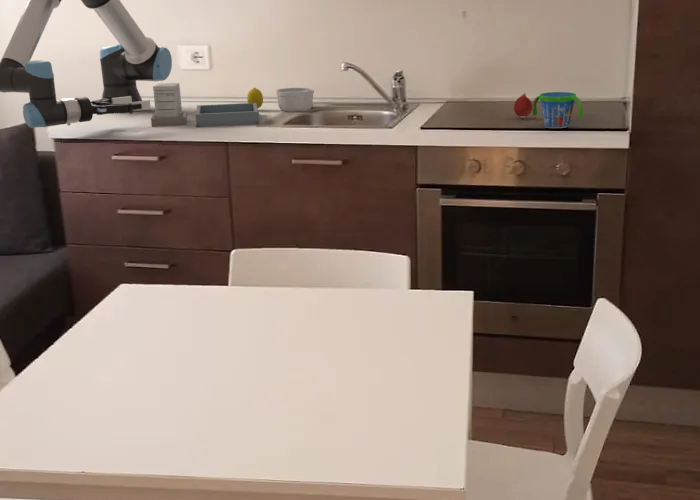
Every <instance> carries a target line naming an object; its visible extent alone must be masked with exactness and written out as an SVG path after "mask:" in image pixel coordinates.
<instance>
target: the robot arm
mask: <svg viewBox="0 0 700 500" xmlns="http://www.w3.org/2000/svg"><path fill="white" fill-rule="evenodd" d="M80 1H81V2H82V4H83V5H84V6H85V7H86V8H87V9H90V10H94V12H95V13H96V14H97V16H98V17H99V19H101V21H102V22H103V23H104V25H105V26H106V28H107V30H109V32H110V33H111V35H113V37H114V38H115V40H116V41H117V42H118V43H119V44H116V45H115V44H114V45H109V46H104V47H103V46H102V47H100V51H99V61H100V69H101V70H100V71H101V76H102V84H103V90H102V96H101V98H99V99H94V100H91V99H89V97H87V96H80V97H75V98H74V97H68V98H60V99H57V95H56V86H55V85H56V84H55V74H54V72H53V67H52V63H51V61H49V60H45V59H44V60H43V59H42V60H41V59H40V60H32V57H33V55H34V54H35V50H36V48H37V46H38V44H39V42H40V40H41V37H42V35H43V33H44V31H45V28H46V27H47V24H48V22H49V20H50V18H51V15H52V13H53V11H54V10H55V9H56V8H59V6H60V5H61V2H62V0H28V1H27V3H26V6H25V8H24V10H23V12H22V14H21V16H20V18H19V20H18V23H17V25H16V26H15V30H14V31H13V33H12V36H11V38H10V40H9V42H8V45H7V47H6V49H5V51H4V53H3V55H2V57H1V59H0V93H21V94H22V93H24V94H25V93H26V94H28V96H29V102H26V103H25V104H23V105H22V106H23V107H22V109H23V110H22V115H23V120H24V122H25V124H26V126H28V127H29V128H31V129H34V128H46V127H47V128H48V127H54V126H60V125H67V126H72V125H71V124H76V123H78V122H79V123H85V122H90V121H92V119H93V116H94V115H97V116H100V115H102V116H103V115H111V114H126V113H127V114H129V115H133V112H137V111H146V110H151V108H152V107H151V101H150V100H149V99H147V100H143V99H142V96H141V94H140V92H139V90H138V87H137V86H138V85H137V81H140V82H141V81H142V82H143V81H144V82H163V81H165V80H166V79H168V78H169V76H170V74H171V71H172V67H173V66H172V65H173V59H172V58H173V57H172V54H171V52H170V49H169V48H167V47H164V46H161V47H159V46H158V45H157V43H156V41H154V39H152V38H151V37H150V36H149V37H148V36H146V35H145V34H144V32H143V31H142V29H141V28H140V27H139V25H138V24H137V23H136V21H135V20H134V18H133V17H132V16H131V14H130V13H129V11H128V10H127V9H126V7H125V6H124V4H123V3H122V2H121V0H80Z"/></svg>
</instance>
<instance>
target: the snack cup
mask: <svg viewBox="0 0 700 500" xmlns="http://www.w3.org/2000/svg"><path fill="white" fill-rule="evenodd" d="M539 101H540V106H541V108H540V109H541V117H542V123H543V127H544V126H547V127H564V126H568V125H571V121H572V116H573V110H574V103H575V102H576V103H577V107H578V111H577V117H576V118H577V120H580V119H582V117H583V115H584V108H583V104H582V100H581V99H580V97H578V96H577V95H576V93H574V92H567V91H565V92H564V91H554V92H553V91H552V92H549V91H548V92H543V93H542V92H541V93H540V94H539V95H538V96H536V97H535V98H534V100H533V103H532V111H531V113H532V115H533V116H536V115H538V108H537V103H538V102H539Z"/></svg>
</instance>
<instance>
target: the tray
mask: <svg viewBox="0 0 700 500" xmlns="http://www.w3.org/2000/svg"><path fill="white" fill-rule="evenodd" d="M259 112H260V111H259V108H257V104H256V103H248V102H246V103H245V102H243V103H223V104H221V103H219V104H218V103H217V104H201V105H199V104H198V105H197V106H196V110H195V123H196V125H195V126H196V128H204V127H205V126H209V127H225V126H228V127H229V126H242V125H243V126H244V125H245V126H247V125H260V114H259ZM205 128H206V127H205Z"/></svg>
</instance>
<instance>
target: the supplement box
mask: <svg viewBox="0 0 700 500" xmlns="http://www.w3.org/2000/svg"><path fill="white" fill-rule="evenodd" d="M180 86H181V85H180V83H178V82H172V83H171V82H169V83H167V82H166V83H163V82H162V83H157V84H155V85H154V86H152V90H153V99H154V100H153V101H154V110H155V112H154V113H156V118H168V117H182V112H183V110H182V107H183V106H182V98H181V87H180Z"/></svg>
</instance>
